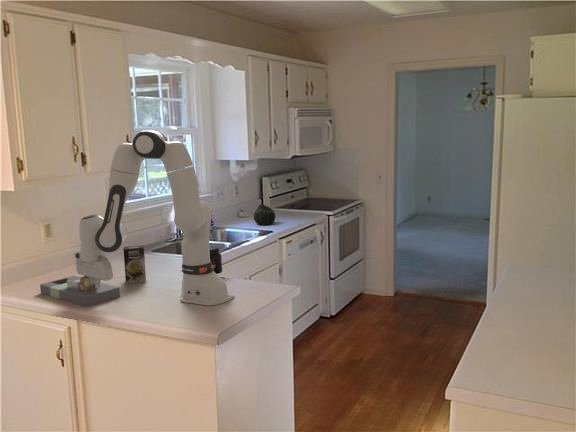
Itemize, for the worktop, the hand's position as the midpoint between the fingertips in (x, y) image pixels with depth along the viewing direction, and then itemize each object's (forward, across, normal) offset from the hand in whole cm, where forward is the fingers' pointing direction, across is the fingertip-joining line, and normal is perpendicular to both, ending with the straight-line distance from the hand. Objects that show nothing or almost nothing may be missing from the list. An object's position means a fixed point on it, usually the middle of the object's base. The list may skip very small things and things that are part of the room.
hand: (95, 287), depth 220 cm
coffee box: (+6, +9, -26) cm, 28 cm away
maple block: (+1, +5, 0) cm, 5 cm away
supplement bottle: (+5, -13, -56) cm, 58 cm away
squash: (+5, +48, -168) cm, 174 cm away
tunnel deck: (+5, +13, 0) cm, 14 cm away
